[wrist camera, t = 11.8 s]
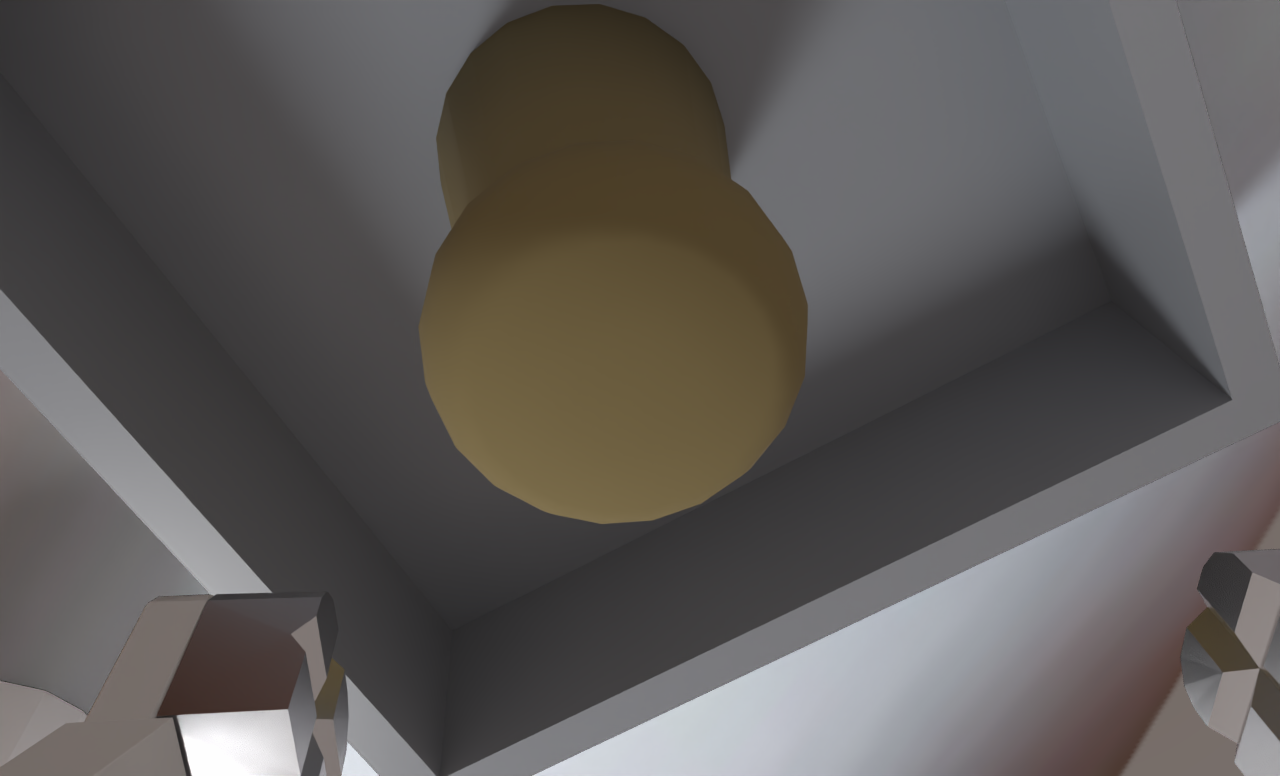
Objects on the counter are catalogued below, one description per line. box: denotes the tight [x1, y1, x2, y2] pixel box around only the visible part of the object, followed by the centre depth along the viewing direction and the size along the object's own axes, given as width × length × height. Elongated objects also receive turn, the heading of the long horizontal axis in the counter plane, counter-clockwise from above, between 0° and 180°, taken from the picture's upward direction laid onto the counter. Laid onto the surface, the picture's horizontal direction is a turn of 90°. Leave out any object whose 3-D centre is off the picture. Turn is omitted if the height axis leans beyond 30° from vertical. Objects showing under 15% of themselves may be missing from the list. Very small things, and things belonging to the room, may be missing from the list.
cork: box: [418, 4, 808, 524], centre depth 18 cm, size 6×6×11 cm
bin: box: [0, 0, 1280, 776], centre depth 22 cm, size 20×20×6 cm
